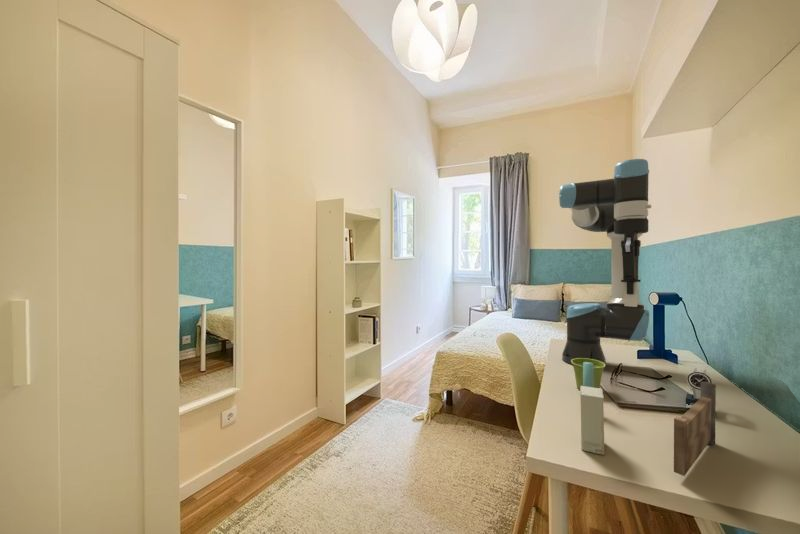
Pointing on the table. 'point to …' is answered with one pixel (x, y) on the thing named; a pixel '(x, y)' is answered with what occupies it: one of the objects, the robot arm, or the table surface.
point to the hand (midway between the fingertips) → (630, 306)
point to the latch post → (588, 374)
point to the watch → (696, 384)
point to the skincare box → (592, 419)
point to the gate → (695, 429)
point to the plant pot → (597, 371)
